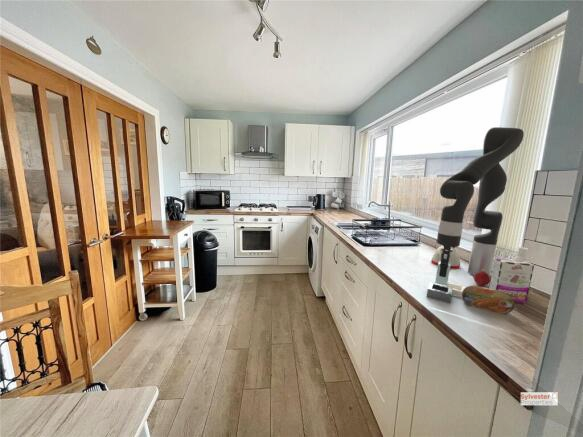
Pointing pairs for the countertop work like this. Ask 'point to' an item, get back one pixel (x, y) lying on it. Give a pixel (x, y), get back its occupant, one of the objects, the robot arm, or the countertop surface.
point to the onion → (482, 278)
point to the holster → (456, 289)
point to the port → (439, 292)
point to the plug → (442, 279)
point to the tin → (488, 299)
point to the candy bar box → (512, 278)
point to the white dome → (454, 260)
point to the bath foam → (522, 254)
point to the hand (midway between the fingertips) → (442, 274)
